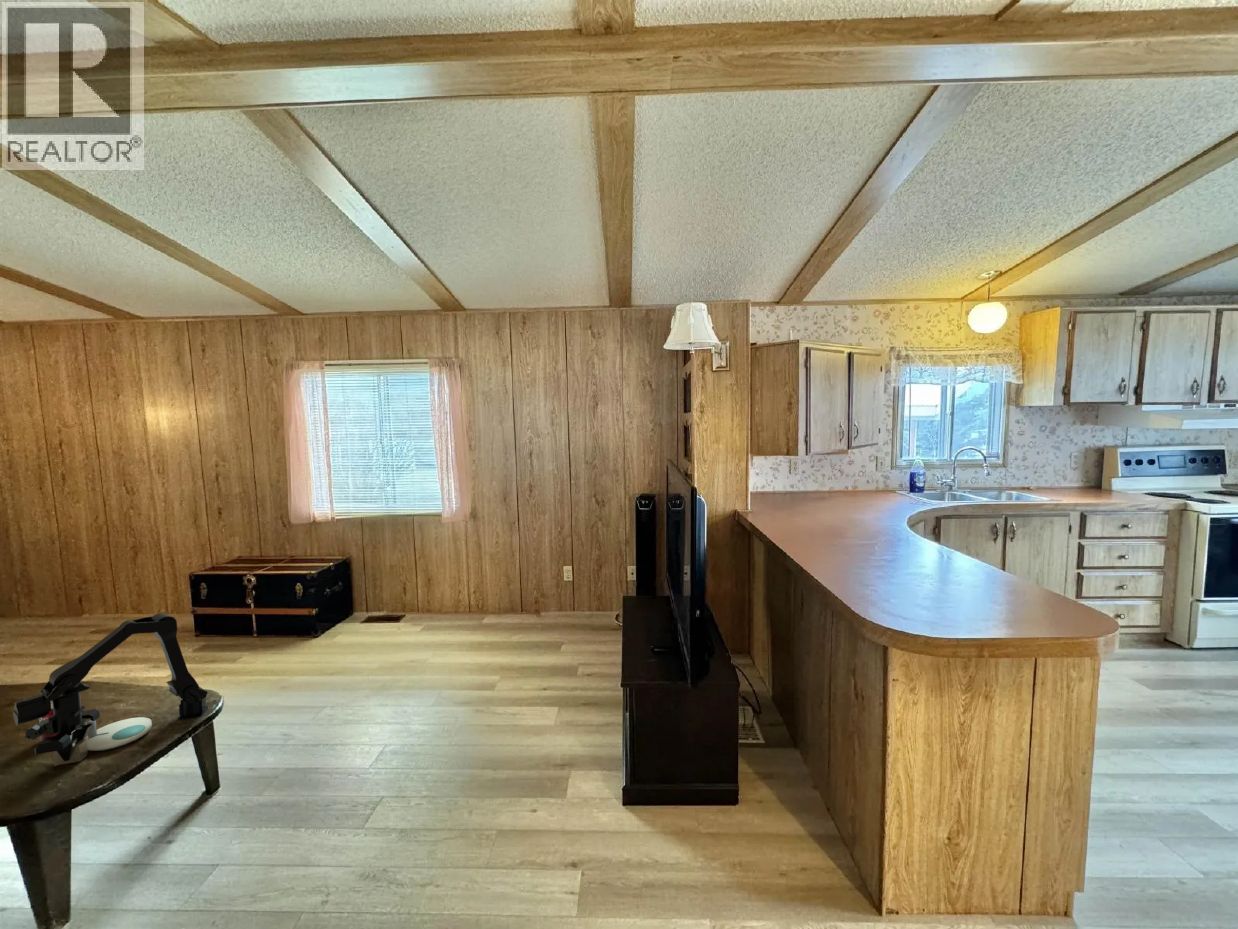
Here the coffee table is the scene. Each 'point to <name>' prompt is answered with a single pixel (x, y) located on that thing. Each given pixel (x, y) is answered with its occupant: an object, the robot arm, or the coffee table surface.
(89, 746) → the disc
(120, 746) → the base
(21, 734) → the coffee table surface
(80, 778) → the coffee table surface
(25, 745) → the coffee table surface
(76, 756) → the link block
